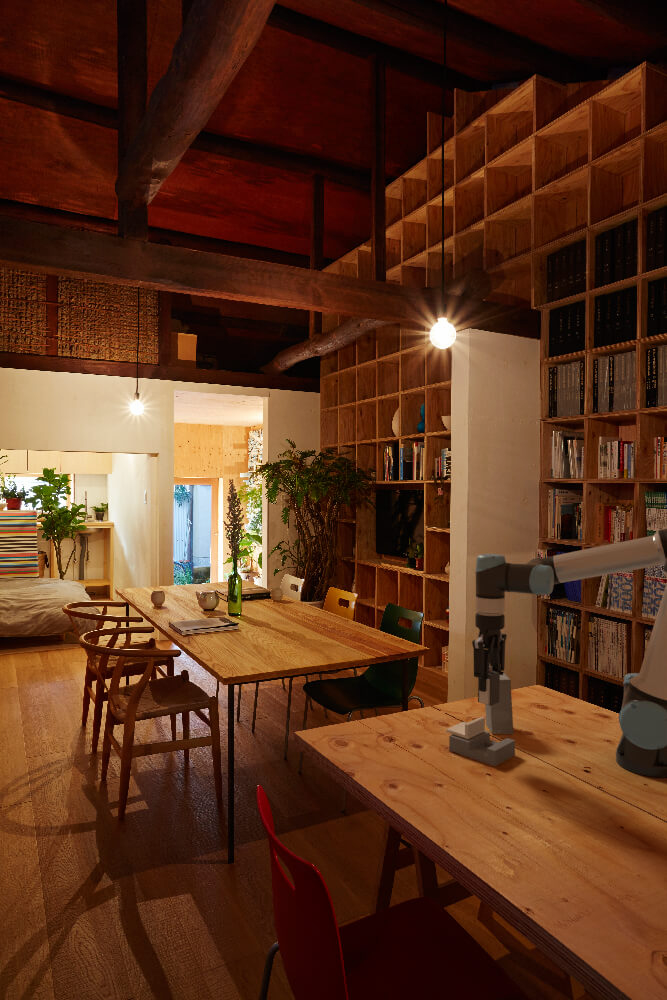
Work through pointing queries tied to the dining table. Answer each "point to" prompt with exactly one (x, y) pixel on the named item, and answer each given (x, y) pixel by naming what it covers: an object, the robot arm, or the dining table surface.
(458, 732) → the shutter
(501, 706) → the skincare box
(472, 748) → the socket
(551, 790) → the dining table surface
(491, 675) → the plug
